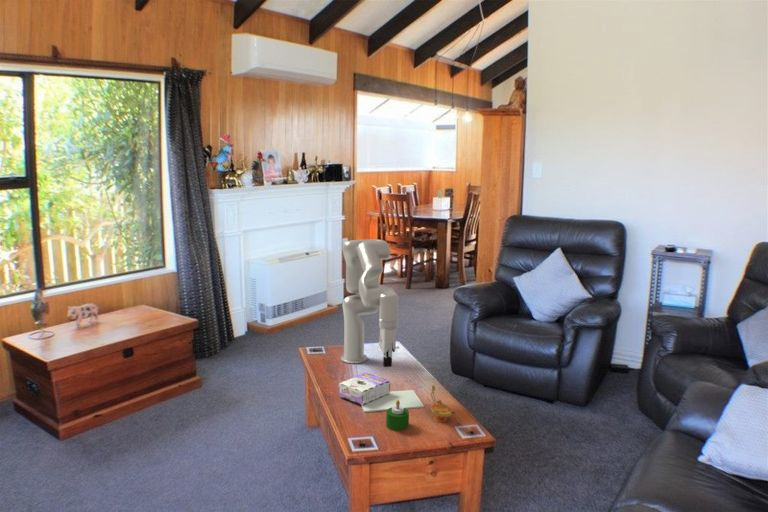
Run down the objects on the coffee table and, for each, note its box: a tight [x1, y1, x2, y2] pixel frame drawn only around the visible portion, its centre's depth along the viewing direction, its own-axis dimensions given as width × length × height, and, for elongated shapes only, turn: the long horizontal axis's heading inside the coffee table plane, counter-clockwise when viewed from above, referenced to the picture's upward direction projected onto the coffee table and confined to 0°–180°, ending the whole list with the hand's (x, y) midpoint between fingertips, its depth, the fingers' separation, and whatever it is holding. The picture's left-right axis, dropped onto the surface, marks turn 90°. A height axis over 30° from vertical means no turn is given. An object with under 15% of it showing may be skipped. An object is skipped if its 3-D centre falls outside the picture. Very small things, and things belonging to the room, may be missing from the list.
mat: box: [360, 389, 425, 413], centre depth 236 cm, size 16×24×1 cm, turn 103°
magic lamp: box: [430, 384, 457, 423], centre depth 219 cm, size 7×18×11 cm, turn 24°
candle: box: [385, 400, 410, 432], centre depth 214 cm, size 8×8×10 cm
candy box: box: [338, 372, 391, 406], centre depth 240 cm, size 14×6×16 cm
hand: (387, 366), depth 238 cm, fingers closed
